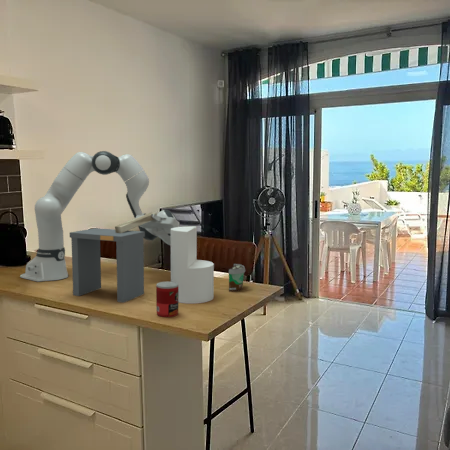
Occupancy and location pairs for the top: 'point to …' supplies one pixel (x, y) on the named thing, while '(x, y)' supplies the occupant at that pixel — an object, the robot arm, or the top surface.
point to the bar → (134, 223)
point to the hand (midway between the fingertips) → (148, 215)
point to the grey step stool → (91, 261)
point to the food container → (236, 278)
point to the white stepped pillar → (190, 267)
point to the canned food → (167, 299)
